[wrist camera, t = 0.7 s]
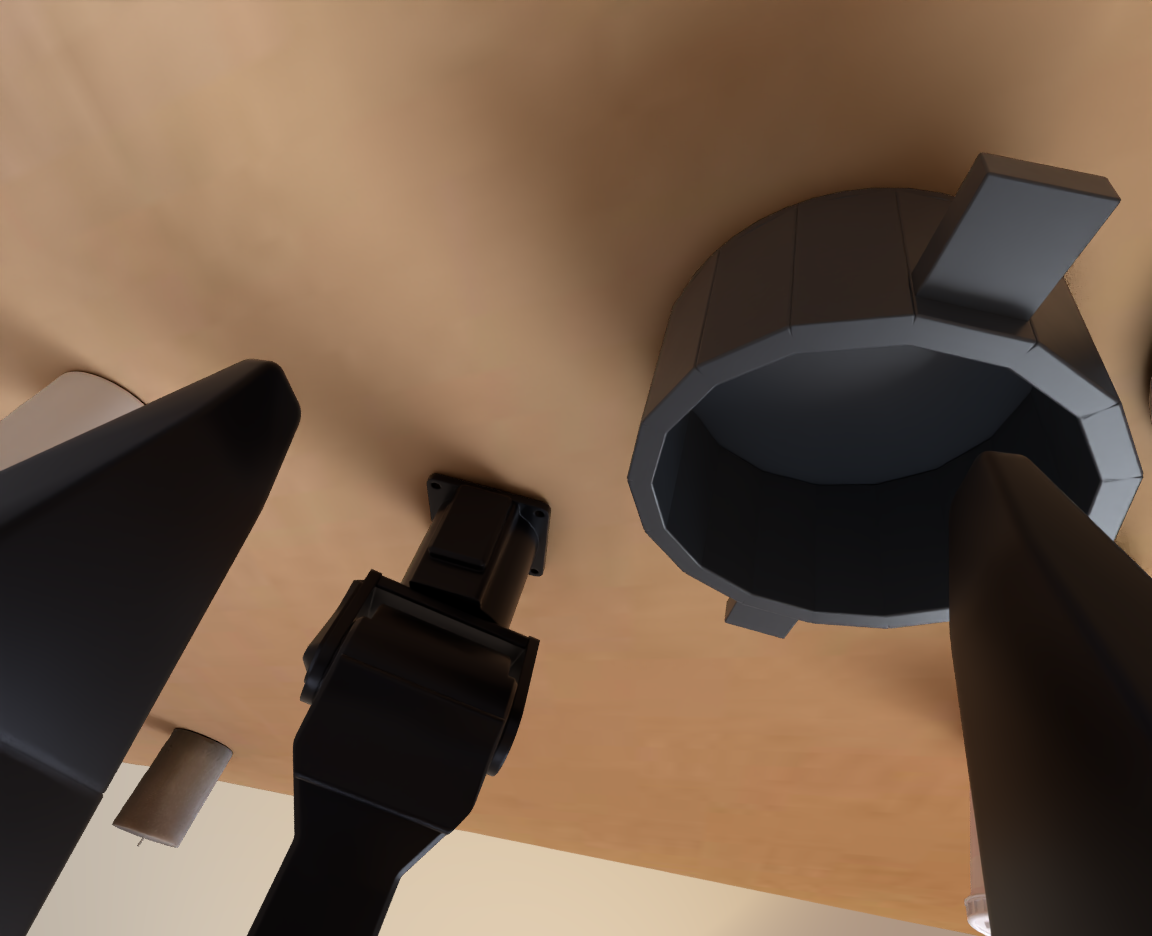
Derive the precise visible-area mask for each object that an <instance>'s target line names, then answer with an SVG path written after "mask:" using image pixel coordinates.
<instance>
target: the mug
mask: <svg viewBox="0 0 1152 936" xmlns="http://www.w3.org/2000/svg"><path fill="white" fill-rule="evenodd" d="M142 406H144V404H143V403H142V402H141V401H139V400H138V399H137V398H136V397H134V396H133V395H131V394H130V393H129V392H127V391H126V390H124V389H122V388H121V387H119V386H117V385H116V384H114V383H112V382H110V381H108V380H106V379H103V378H101V377H98V376H96V375H93V374H89V373H85V372H67V373H65V374H63V375H61V376H60V377H58V378H57V379H56V380H54V381H53V382H52V383H50V384H49V385H48V386H46V387H45V388H44V389H42V390H41V391H40V392H38V393H37V394H36V395H34V396H33V397H32V398H30V399H29V400H27V401H26V402H25V403H23V404H22V405H20V406H19V407H18V408H17V409H15V410H14V411H13V412H11V413H10V414H9V415H8V416H6V417H5V418H4V419H2V420H1V421H0V471H1V470H4V469H6V468H8V467H10V466H12V465H15V464H17V463H19V462H21V461H23V460H26V459H28V458H30V457H32V456H34V455H37V454H39V453H41V452H43V451H45V450H48V449H50V448H52V447H54V446H56V445H58V444H61V443H63V442H65V441H67V440H69V439H72V438H74V437H76V436H78V435H80V434H83V433H85V432H87V431H89V430H91V429H94V428H96V427H98V426H100V425H102V424H105V423H107V422H109V421H111V420H113V419H116V418H118V417H120V416H122V415H124V414H127V413H129V412H131V411H133V410H135V409H137V408H140V407H142Z"/></svg>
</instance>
